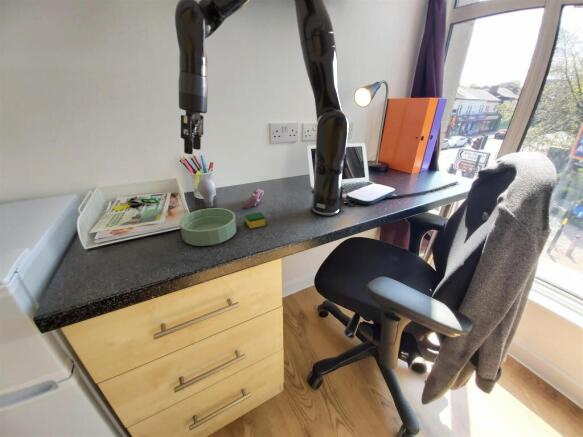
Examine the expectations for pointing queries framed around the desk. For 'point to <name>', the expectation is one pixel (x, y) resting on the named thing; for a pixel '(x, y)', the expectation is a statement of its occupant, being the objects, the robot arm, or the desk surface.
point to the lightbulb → (207, 191)
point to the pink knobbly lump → (254, 198)
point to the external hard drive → (370, 194)
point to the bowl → (208, 226)
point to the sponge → (255, 220)
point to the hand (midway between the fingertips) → (192, 151)
